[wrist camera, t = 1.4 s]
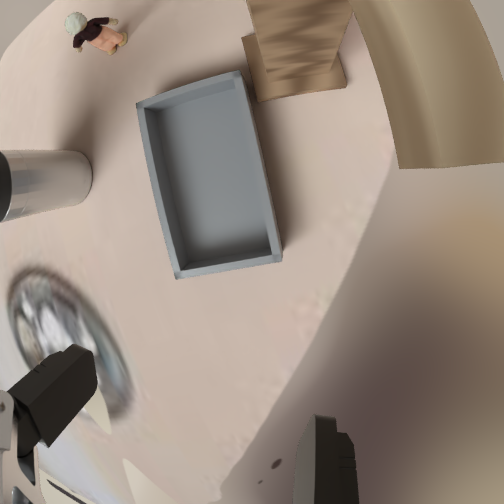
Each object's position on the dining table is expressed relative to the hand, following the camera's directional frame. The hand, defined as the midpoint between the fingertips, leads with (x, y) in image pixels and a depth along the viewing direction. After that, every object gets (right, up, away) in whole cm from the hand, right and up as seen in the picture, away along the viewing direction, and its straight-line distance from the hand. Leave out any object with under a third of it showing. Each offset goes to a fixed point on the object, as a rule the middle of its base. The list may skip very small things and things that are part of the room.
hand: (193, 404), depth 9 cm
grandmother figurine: (-20, +39, +27) cm, 51 cm away
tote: (-3, +15, +30) cm, 34 cm away
